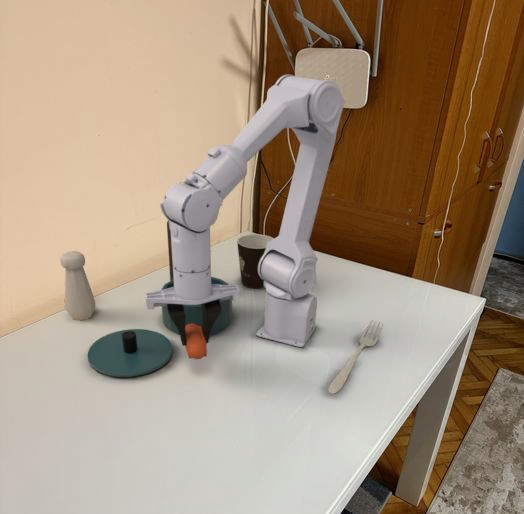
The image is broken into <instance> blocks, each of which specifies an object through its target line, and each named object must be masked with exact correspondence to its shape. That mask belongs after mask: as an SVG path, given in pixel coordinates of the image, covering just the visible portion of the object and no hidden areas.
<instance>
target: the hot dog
mask: <svg viewBox="0 0 524 514" xmlns="http://www.w3.org/2000/svg"><path fill="white" fill-rule="evenodd" d="M185 332H186V339H187V346H184V347H185V350H186V351H185V352H186V354H187V358H188V359H189V360H190V359H191V360H192V359H194V360H202V359H204V358H205V357H208V347H207V345H208V343H206V340H205V338H204V335H203V332H202V329H201V326H197V325H196V324H188V325H186V326H185Z"/></svg>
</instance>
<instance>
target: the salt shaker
mask: <svg viewBox="0 0 524 514" xmlns="http://www.w3.org/2000/svg"><path fill="white" fill-rule="evenodd" d="M59 261H60V265H61V266H62V268H63V269H65V271H64V273H65V274H64V278H65V279H64V310H65V311H66V312H67V313H68V314H69V316H70V318H72V319H71V320H76V321H84V320H88V319H90V318H92V315H93V314H94V311H95V308H96V299H95V297H94V294H93V291H92V287H91V285H90V282H89V279H88V276H87V274H86V272H85V271H86V270H85V268H84V266H85V264H86V258H85V255H84V254H83V253H82V252H81V251H76V250H75V251H74V250H73V251H72V250H71V251H65V252H64V253H62V254H61V255H60V260H59Z"/></svg>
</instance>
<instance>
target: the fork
mask: <svg viewBox="0 0 524 514" xmlns="http://www.w3.org/2000/svg"><path fill="white" fill-rule="evenodd" d="M372 324H373V325H372ZM376 324H377V325H376ZM380 324H381V322H380V321H379V322H378V323H377V320H375V322H374V323H373V319H371V321H370V322H369V324H368V326H367V327H366V328H365V330H364V332H363V333H362V334H361V336H360V337H359V339H358V343H359V344H360V345H359V346H358V348H357V349H356V351H355V352H354V354H353V355H352V356H351V358H350V359H349V360H348V361H347V363H346V364H345V365H344V366H343V368H342V369H341V370H340V371H339V373H338V374H337V375H336V377H334V379H333V380H332V381H331V382H330V384H329V385H328V393H329V394H331V395H335V394H337V393H339V392H340V391H341V390H342V388H343V387H344V385H345V383H346V381H347V379H348V377H349V375H350V373H351V371H352V369H353V367H354V366H355V363H356V360H357V358H358V357H359V355H360V354H361V351H362V350H363V348H365V347H373V346H375V345H376V344H377V342H378V340H379V338H380V335H381V333H382V330H383V327H384V324H385V323H384V322H382V324H381V326H380ZM375 326H376V327H375ZM374 328H375V329H374ZM373 330H374V331H373ZM372 332H373V333H372ZM366 334H367V335H366ZM371 334H372V335H371ZM376 334H377V335H376ZM375 335H376V337H375ZM370 336H371V337H370ZM374 338H375V339H374Z"/></svg>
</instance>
